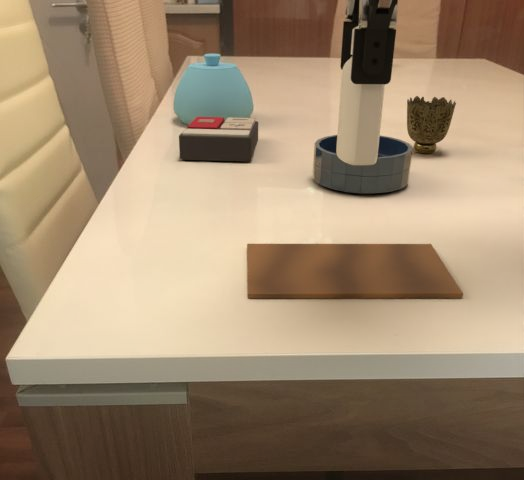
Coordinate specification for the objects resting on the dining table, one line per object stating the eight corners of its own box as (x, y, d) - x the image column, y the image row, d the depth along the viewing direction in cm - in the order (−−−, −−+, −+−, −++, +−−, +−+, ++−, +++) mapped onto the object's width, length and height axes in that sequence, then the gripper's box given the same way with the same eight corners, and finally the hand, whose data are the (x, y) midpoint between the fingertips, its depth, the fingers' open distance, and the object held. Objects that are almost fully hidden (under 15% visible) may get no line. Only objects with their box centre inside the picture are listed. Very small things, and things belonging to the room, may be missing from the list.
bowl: (397, 168, 96) (401, 133, 93) (417, 196, 85) (422, 158, 82) (309, 167, 96) (310, 133, 93) (317, 196, 84) (320, 158, 82)
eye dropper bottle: (385, 153, 60) (401, 9, 54) (372, 169, 56) (388, 13, 49) (340, 148, 61) (351, 7, 55) (324, 163, 57) (333, 11, 51)
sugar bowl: (255, 129, 116) (256, 59, 110) (172, 129, 115) (168, 59, 109) (251, 112, 129) (251, 48, 123) (176, 112, 128) (172, 48, 122)
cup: (446, 147, 107) (454, 96, 103) (449, 159, 101) (458, 105, 96) (400, 145, 108) (407, 94, 104) (401, 156, 102) (407, 103, 97)
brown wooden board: (430, 248, 70) (431, 243, 70) (462, 298, 60) (463, 293, 59) (247, 247, 69) (247, 243, 69) (247, 298, 59) (247, 293, 59)
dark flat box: (258, 116, 108) (251, 132, 95) (258, 142, 110) (251, 161, 97) (194, 114, 109) (177, 130, 96) (195, 140, 111) (179, 159, 98)
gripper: (478, -224, 38) (432, 96, 48) (413, -175, 53) (388, 63, 62) (352, -227, 38) (332, 95, 48) (322, -177, 53) (311, 62, 62)
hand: (364, 74), depth 55 cm, fingers closed on eye dropper bottle, 5 cm apart
